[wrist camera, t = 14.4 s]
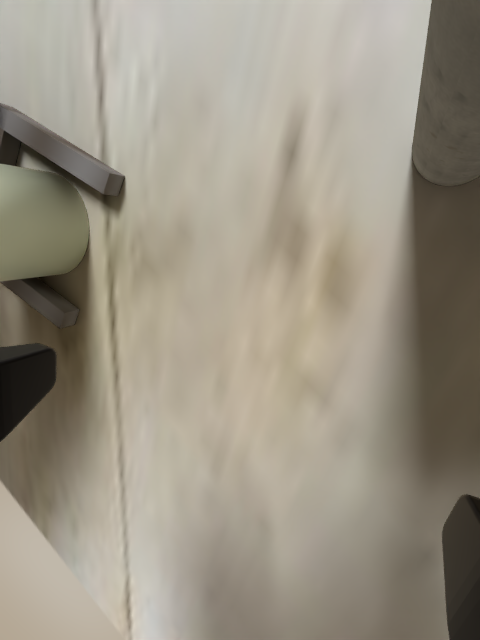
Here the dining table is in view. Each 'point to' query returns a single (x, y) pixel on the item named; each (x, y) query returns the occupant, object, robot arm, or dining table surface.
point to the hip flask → (450, 96)
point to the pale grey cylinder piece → (39, 224)
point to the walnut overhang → (14, 127)
